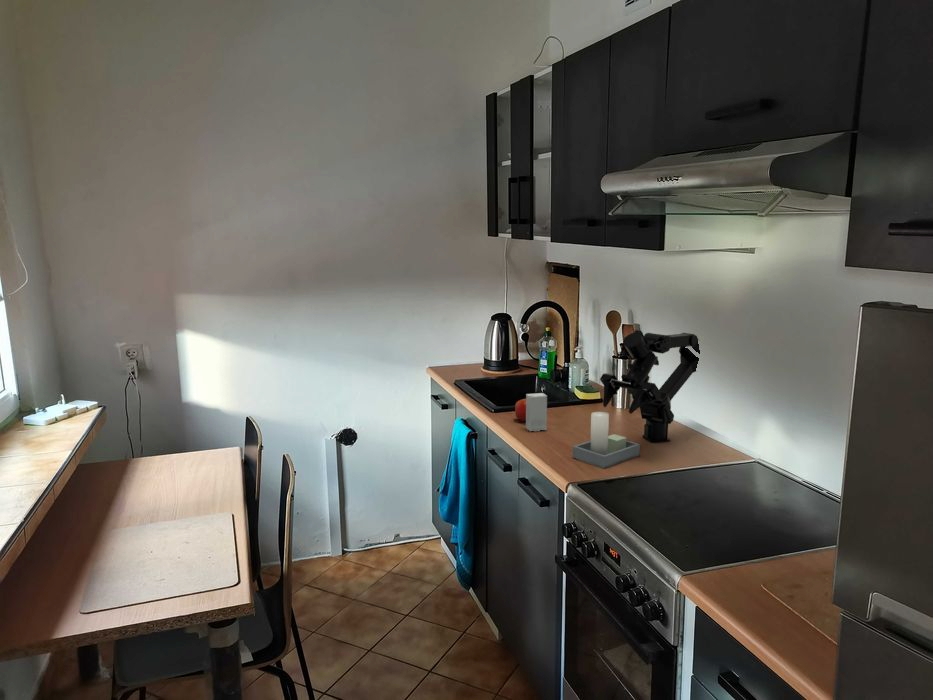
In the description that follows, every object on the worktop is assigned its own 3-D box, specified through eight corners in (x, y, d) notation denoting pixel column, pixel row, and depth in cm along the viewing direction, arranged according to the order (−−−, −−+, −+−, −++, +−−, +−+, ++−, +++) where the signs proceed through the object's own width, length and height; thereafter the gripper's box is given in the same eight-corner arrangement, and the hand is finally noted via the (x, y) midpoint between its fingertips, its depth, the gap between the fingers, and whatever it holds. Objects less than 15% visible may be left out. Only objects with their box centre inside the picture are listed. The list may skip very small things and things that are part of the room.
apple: (535, 425, 232) (536, 403, 230) (511, 423, 234) (511, 400, 233) (540, 419, 239) (540, 397, 238) (517, 417, 242) (517, 395, 240)
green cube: (604, 451, 204) (604, 437, 203) (613, 448, 207) (614, 434, 206) (616, 455, 201) (617, 440, 200) (625, 452, 204) (626, 437, 203)
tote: (607, 445, 211) (608, 435, 210) (639, 455, 202) (640, 444, 202) (572, 457, 200) (572, 446, 200) (604, 468, 192) (604, 456, 191)
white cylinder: (597, 453, 203) (598, 410, 200) (611, 457, 199) (612, 414, 197) (586, 457, 199) (587, 414, 197) (600, 461, 196) (601, 417, 193)
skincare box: (542, 427, 230) (543, 392, 228) (547, 431, 226) (548, 395, 223) (524, 428, 228) (525, 393, 226) (529, 432, 224) (530, 396, 222)
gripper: (677, 389, 204) (654, 431, 199) (625, 378, 218) (602, 417, 213) (664, 366, 198) (639, 410, 193) (611, 357, 212) (587, 397, 207)
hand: (616, 409), depth 202 cm, fingers open, 9 cm apart
